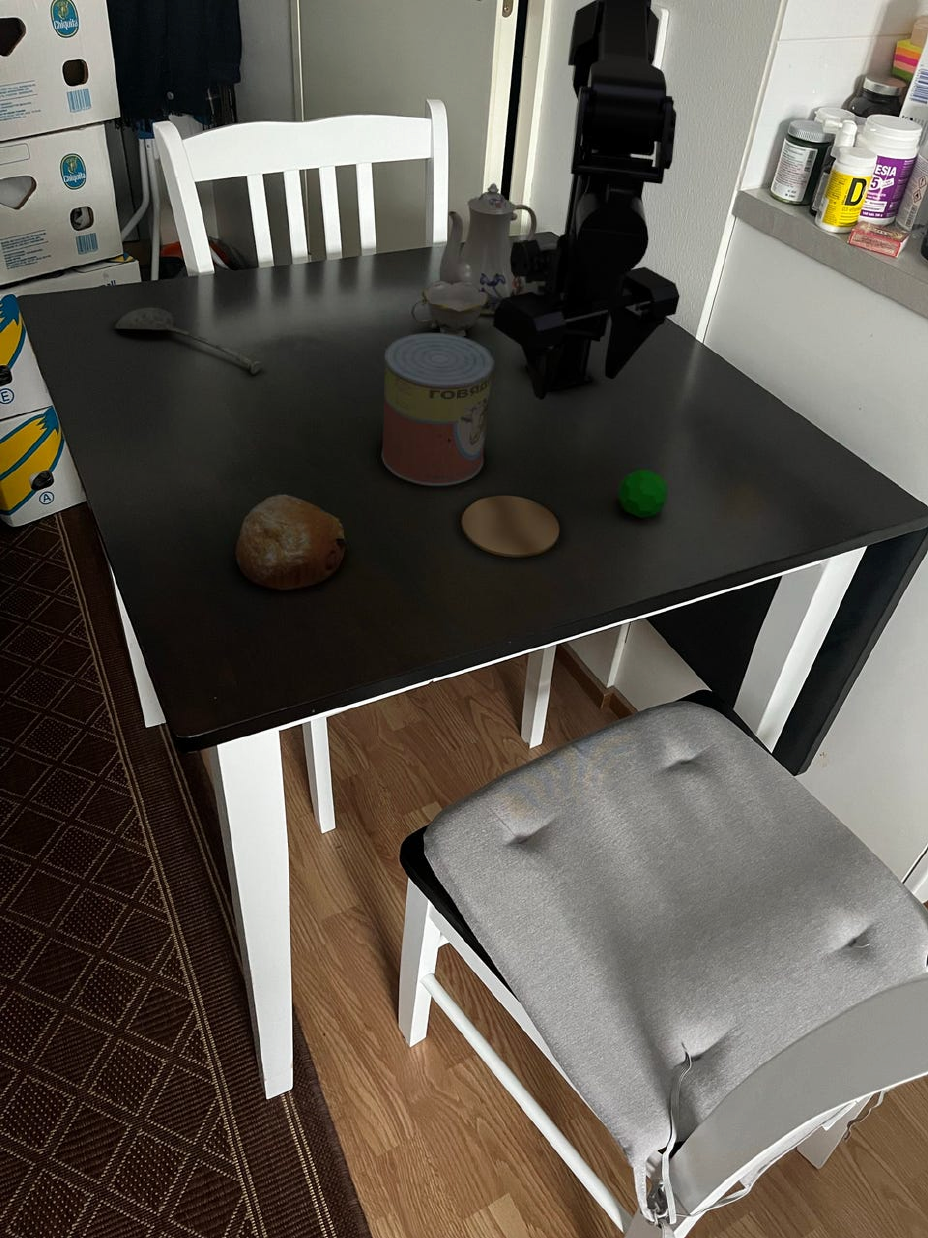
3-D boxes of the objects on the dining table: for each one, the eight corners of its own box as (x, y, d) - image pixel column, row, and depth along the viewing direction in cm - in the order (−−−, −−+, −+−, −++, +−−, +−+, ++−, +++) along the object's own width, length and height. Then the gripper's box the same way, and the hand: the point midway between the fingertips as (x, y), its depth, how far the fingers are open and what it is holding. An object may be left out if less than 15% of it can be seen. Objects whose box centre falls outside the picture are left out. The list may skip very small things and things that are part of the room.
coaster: (524, 489, 106) (524, 486, 106) (577, 541, 100) (578, 538, 100) (443, 512, 102) (444, 509, 102) (494, 568, 96) (495, 565, 96)
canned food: (447, 498, 104) (456, 397, 96) (361, 461, 108) (362, 360, 100) (501, 453, 111) (514, 355, 103) (418, 419, 115) (424, 322, 107)
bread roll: (262, 554, 100) (222, 495, 95) (355, 521, 98) (319, 458, 93) (255, 620, 93) (211, 560, 88) (355, 585, 91) (316, 522, 86)
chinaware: (443, 367, 128) (461, 245, 116) (374, 304, 136) (385, 184, 124) (602, 323, 142) (632, 210, 130) (530, 268, 150) (553, 157, 138)
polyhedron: (606, 513, 104) (615, 475, 101) (628, 493, 107) (636, 455, 104) (649, 532, 102) (659, 494, 99) (669, 510, 105) (679, 473, 102)
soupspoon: (144, 316, 130) (106, 336, 126) (139, 292, 127) (100, 311, 123) (274, 363, 122) (239, 386, 118) (271, 338, 119) (235, 360, 115)
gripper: (620, 188, 98) (593, 335, 108) (466, 214, 89) (453, 372, 99) (699, 228, 91) (663, 380, 102) (542, 260, 82) (519, 423, 93)
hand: (575, 387), depth 99 cm, fingers open, 9 cm apart
